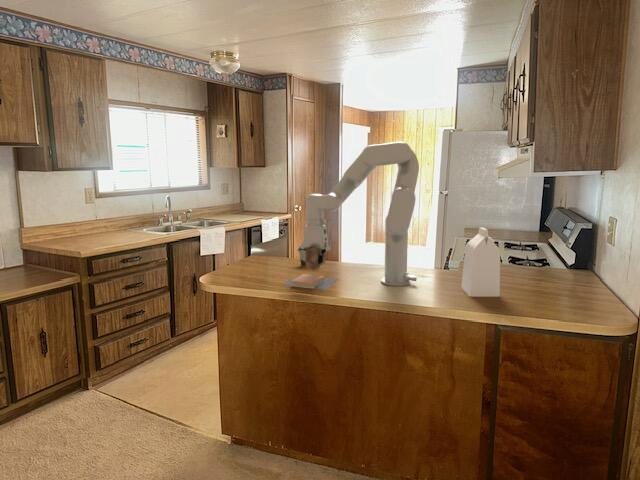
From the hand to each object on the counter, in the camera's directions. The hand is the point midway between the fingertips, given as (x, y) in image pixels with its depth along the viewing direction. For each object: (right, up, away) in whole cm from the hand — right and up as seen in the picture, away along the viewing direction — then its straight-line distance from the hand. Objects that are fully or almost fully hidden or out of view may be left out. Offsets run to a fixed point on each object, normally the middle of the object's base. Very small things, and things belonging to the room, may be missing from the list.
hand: (315, 262), depth 201 cm
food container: (-3, -3, +30) cm, 30 cm away
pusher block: (0, -2, 0) cm, 2 cm away
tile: (-1, -7, -1) cm, 7 cm away
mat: (-2, -9, -3) cm, 10 cm away
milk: (+67, -11, -18) cm, 70 cm away
